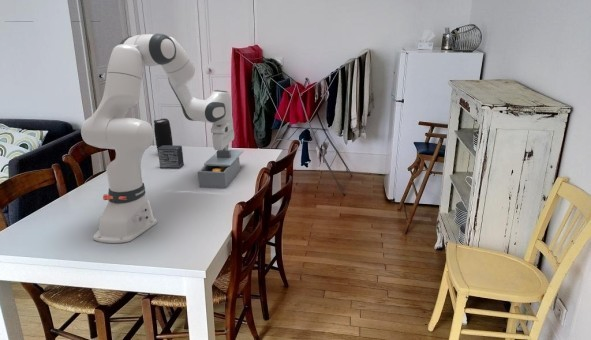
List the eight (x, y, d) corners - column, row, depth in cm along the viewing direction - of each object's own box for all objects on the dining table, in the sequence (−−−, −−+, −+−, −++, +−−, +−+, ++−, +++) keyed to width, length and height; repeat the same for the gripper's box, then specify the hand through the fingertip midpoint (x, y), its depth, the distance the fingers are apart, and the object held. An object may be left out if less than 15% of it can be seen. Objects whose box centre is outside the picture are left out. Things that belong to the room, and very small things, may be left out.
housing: (226, 190, 177) (224, 173, 175) (199, 189, 179) (197, 171, 177) (240, 172, 198) (239, 156, 195) (216, 171, 200) (214, 156, 197)
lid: (230, 166, 182) (229, 158, 180) (204, 165, 184) (203, 157, 182) (243, 151, 202) (243, 144, 201) (220, 150, 204) (219, 143, 203)
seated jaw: (226, 176, 190) (225, 164, 188) (218, 176, 191) (217, 164, 189) (228, 173, 194) (227, 161, 192) (221, 173, 194) (220, 161, 192)
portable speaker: (168, 151, 232) (163, 117, 226) (177, 154, 226) (173, 119, 220) (154, 154, 226) (149, 120, 220) (163, 158, 221) (158, 122, 214)
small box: (184, 164, 211) (182, 145, 207) (180, 168, 205) (177, 148, 201) (164, 164, 212) (162, 144, 208) (159, 168, 206) (156, 148, 202)
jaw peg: (222, 180, 185) (221, 168, 183) (219, 183, 182) (218, 171, 180) (215, 180, 186) (214, 167, 184) (212, 183, 183) (210, 170, 181)
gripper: (223, 120, 199) (225, 147, 204) (209, 130, 180) (211, 160, 185) (236, 120, 198) (238, 147, 203) (223, 130, 179) (225, 160, 184)
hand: (225, 153), depth 194 cm, fingers closed
